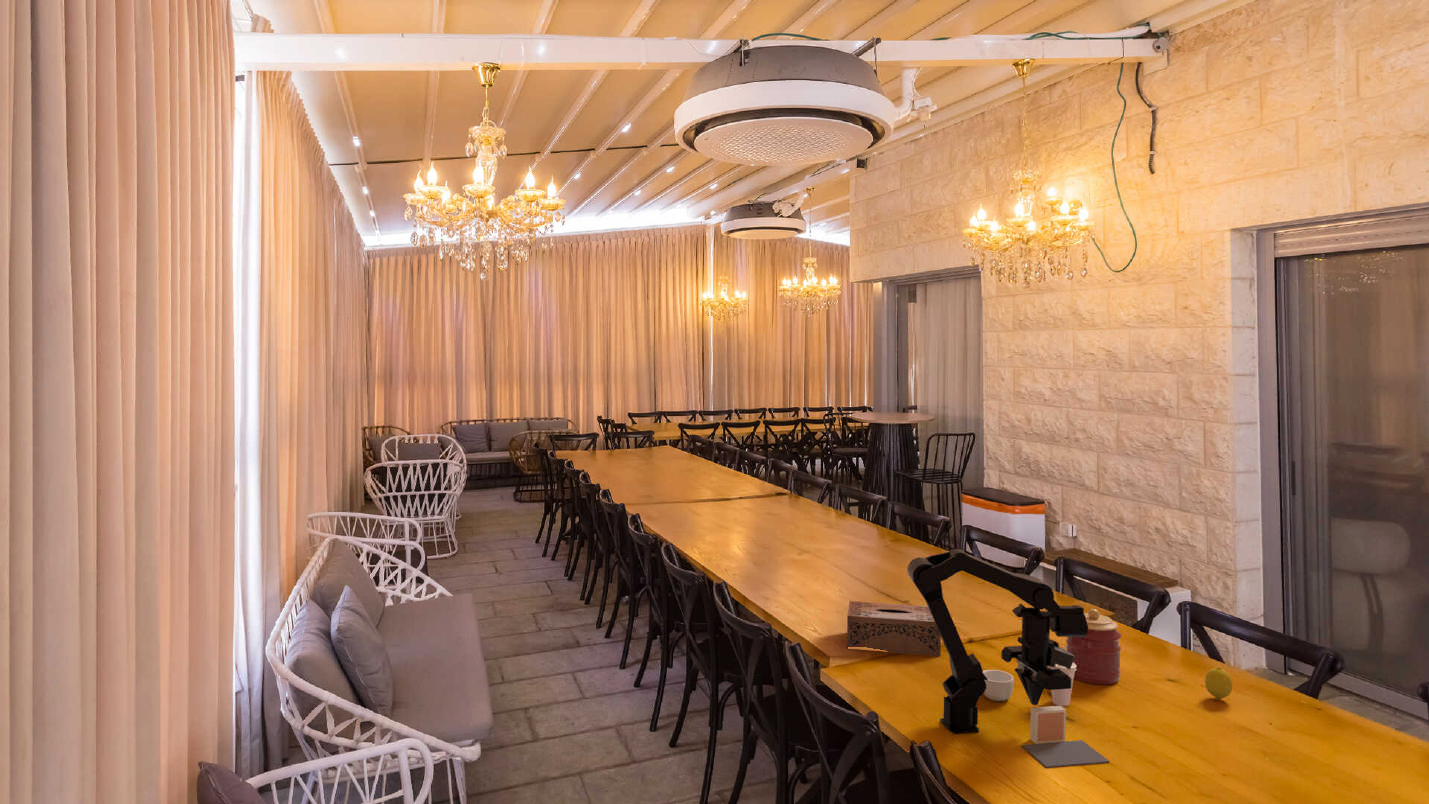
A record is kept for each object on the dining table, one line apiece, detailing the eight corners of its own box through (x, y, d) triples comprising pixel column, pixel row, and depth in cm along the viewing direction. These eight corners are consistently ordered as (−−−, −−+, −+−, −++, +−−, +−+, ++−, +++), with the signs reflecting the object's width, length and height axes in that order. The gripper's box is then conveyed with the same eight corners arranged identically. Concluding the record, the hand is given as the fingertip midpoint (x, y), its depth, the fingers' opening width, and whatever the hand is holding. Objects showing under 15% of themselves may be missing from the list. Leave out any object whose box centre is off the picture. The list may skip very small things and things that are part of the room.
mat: (1046, 767, 156) (1046, 766, 156) (1022, 746, 165) (1022, 744, 165) (1109, 762, 158) (1109, 761, 158) (1082, 741, 167) (1082, 740, 167)
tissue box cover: (847, 650, 222) (847, 615, 221) (849, 633, 236) (849, 600, 235) (940, 657, 216) (940, 622, 216) (937, 639, 230) (937, 606, 230)
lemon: (1206, 692, 192) (1207, 661, 192) (1233, 698, 189) (1234, 666, 188) (1203, 700, 188) (1204, 667, 188) (1230, 706, 184) (1231, 673, 184)
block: (1035, 744, 166) (1036, 711, 166) (1030, 739, 168) (1030, 707, 168) (1065, 741, 167) (1066, 709, 167) (1059, 737, 169) (1060, 705, 169)
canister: (1115, 690, 194) (1116, 620, 193) (1059, 677, 202) (1061, 610, 201) (1124, 673, 204) (1126, 607, 203) (1071, 662, 212) (1073, 598, 211)
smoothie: (1059, 710, 182) (1060, 651, 182) (1040, 698, 189) (1041, 642, 188) (1081, 706, 184) (1083, 649, 184) (1062, 695, 190) (1064, 639, 190)
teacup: (1007, 707, 184) (1007, 685, 184) (975, 698, 189) (975, 676, 189) (1020, 693, 192) (1020, 672, 192) (989, 685, 197) (989, 664, 196)
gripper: (1095, 648, 164) (1093, 720, 165) (1044, 620, 182) (1043, 685, 183) (1047, 651, 162) (1045, 724, 163) (1000, 622, 181) (999, 688, 181)
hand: (1034, 704), depth 173 cm, fingers closed
